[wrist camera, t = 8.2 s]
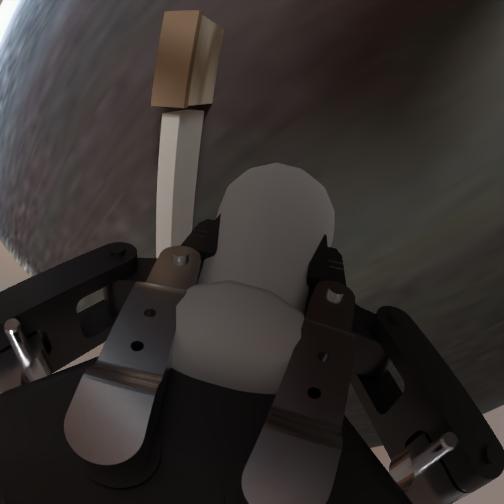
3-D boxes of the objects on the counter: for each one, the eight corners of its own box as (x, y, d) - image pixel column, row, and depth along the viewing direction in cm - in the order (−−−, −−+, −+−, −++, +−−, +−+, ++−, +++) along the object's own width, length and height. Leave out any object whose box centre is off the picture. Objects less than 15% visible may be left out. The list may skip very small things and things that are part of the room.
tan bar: (197, 28, 17) (164, 11, 13) (225, 29, 17) (199, 10, 12) (174, 315, 31) (153, 352, 27) (193, 321, 31) (174, 359, 26)
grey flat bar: (177, 108, 20) (148, 112, 17) (204, 110, 20) (179, 114, 16) (168, 262, 28) (146, 290, 24) (189, 268, 27) (170, 297, 23)
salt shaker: (353, 201, 16) (412, 415, 5) (288, 267, 19) (249, 476, 7) (270, 133, 15) (147, 240, 4) (212, 210, 18) (78, 384, 7)
